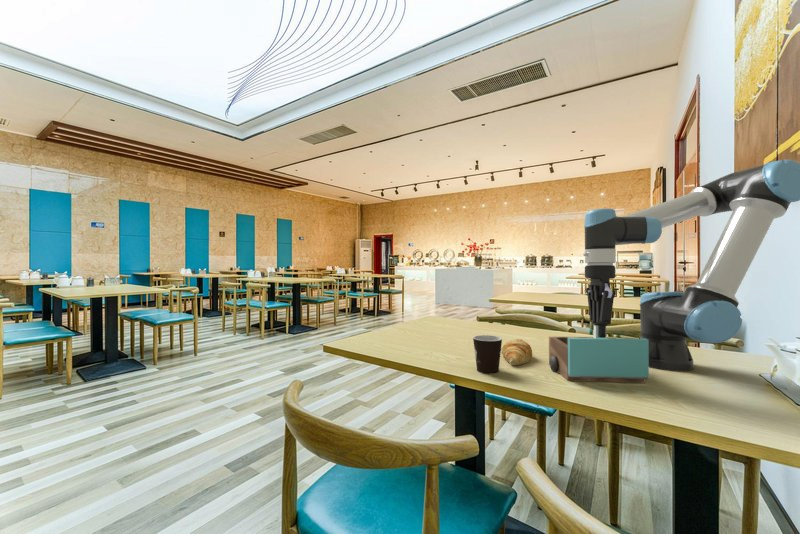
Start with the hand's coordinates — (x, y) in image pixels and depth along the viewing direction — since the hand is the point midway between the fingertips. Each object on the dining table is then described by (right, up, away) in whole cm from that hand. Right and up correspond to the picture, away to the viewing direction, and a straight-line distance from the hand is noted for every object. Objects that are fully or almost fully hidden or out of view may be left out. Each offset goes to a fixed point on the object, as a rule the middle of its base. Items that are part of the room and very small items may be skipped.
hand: (599, 348), depth 98 cm
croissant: (-17, -9, +21) cm, 28 cm away
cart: (+1, -9, +5) cm, 10 cm away
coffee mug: (-29, -9, +9) cm, 32 cm away
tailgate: (0, -7, -4) cm, 8 cm away
